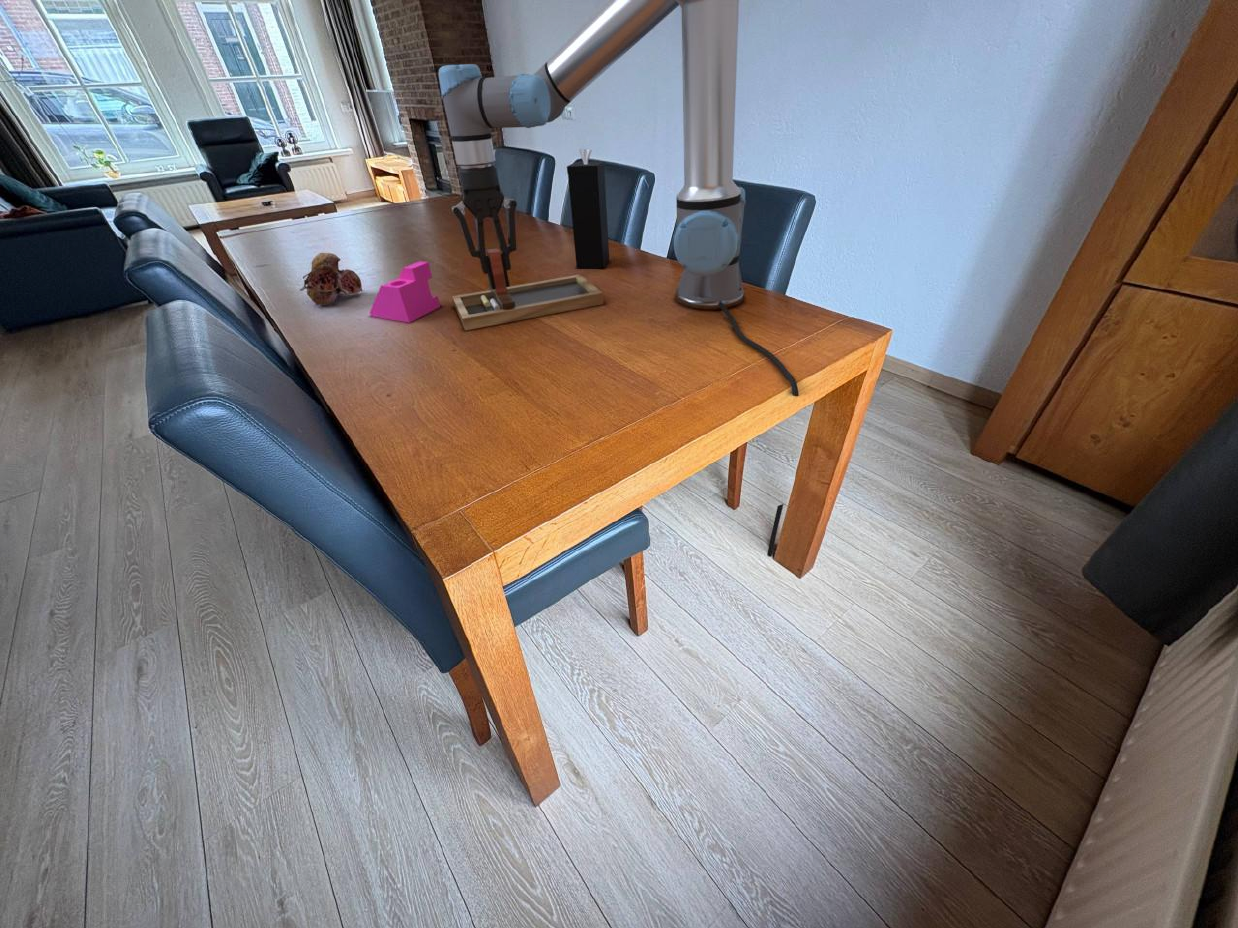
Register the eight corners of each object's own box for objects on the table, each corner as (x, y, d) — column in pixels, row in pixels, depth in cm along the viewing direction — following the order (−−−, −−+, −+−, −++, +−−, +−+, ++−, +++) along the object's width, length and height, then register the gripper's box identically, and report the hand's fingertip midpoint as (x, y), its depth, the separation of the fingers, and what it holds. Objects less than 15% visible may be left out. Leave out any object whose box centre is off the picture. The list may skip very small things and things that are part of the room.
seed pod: (280, 291, 111) (340, 259, 113) (272, 259, 120) (327, 230, 122) (321, 334, 122) (375, 304, 124) (311, 302, 131) (361, 275, 133)
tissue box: (603, 269, 136) (596, 150, 119) (576, 268, 138) (565, 151, 121) (609, 260, 142) (603, 146, 125) (583, 260, 144) (573, 147, 127)
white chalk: (500, 310, 110) (499, 304, 109) (495, 312, 109) (493, 306, 109) (496, 303, 113) (494, 298, 112) (490, 305, 113) (489, 299, 112)
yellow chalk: (486, 308, 112) (491, 305, 112) (483, 303, 111) (488, 300, 111) (482, 301, 115) (487, 298, 115) (479, 297, 114) (484, 294, 115)
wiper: (516, 311, 108) (507, 258, 101) (504, 313, 107) (493, 260, 100) (501, 291, 119) (492, 242, 112) (490, 293, 118) (480, 243, 112)
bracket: (440, 306, 118) (428, 262, 112) (409, 322, 111) (394, 275, 104) (402, 301, 122) (389, 258, 116) (370, 316, 115) (354, 271, 109)
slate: (603, 304, 115) (602, 293, 113) (465, 330, 106) (462, 318, 104) (580, 284, 126) (580, 274, 125) (454, 307, 117) (452, 296, 116)
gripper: (511, 160, 102) (529, 276, 116) (434, 167, 97) (462, 287, 112) (519, 163, 96) (537, 285, 110) (438, 171, 92) (468, 297, 106)
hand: (499, 286), depth 111 cm, fingers closed on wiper, 2 cm apart
